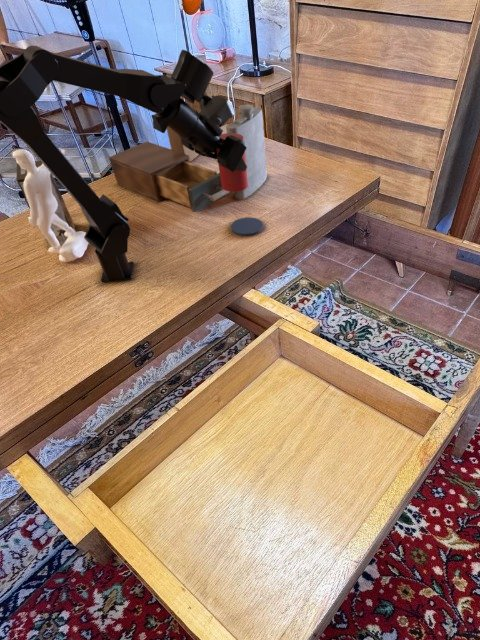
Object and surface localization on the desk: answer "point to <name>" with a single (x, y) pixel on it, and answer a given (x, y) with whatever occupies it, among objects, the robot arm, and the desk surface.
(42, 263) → the desk surface
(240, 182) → the can
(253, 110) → the hip flask
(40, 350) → the desk surface
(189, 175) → the drawer
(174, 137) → the wooden block
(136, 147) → the cabinet
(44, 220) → the figurine
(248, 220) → the mat
